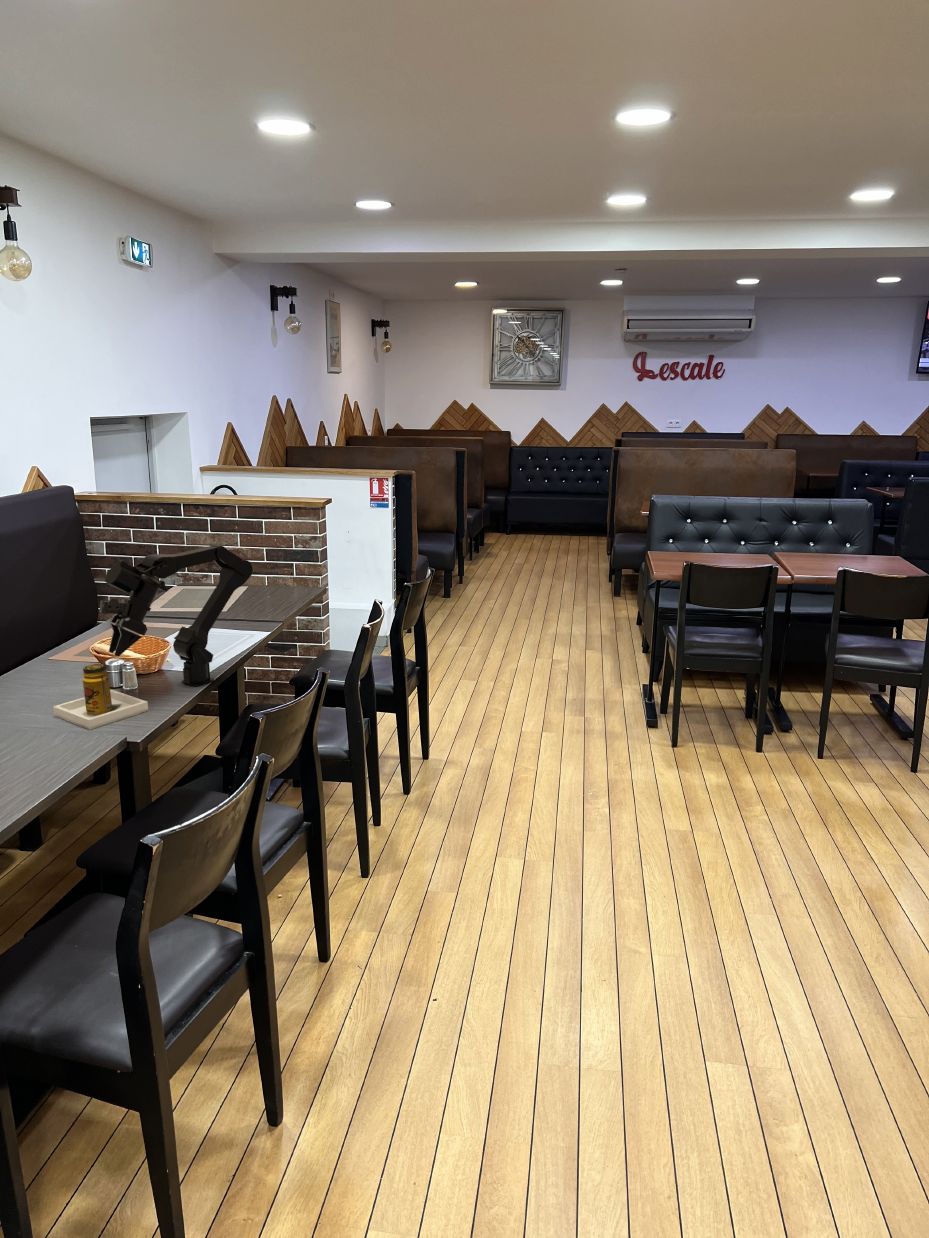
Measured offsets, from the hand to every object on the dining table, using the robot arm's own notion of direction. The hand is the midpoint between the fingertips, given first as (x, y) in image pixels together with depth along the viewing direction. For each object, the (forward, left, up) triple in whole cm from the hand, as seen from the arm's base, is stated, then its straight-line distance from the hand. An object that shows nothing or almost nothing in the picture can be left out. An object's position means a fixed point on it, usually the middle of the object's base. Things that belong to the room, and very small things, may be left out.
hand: (113, 654), depth 220 cm
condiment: (+7, +3, -13) cm, 15 cm away
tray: (+7, +4, -13) cm, 15 cm away
